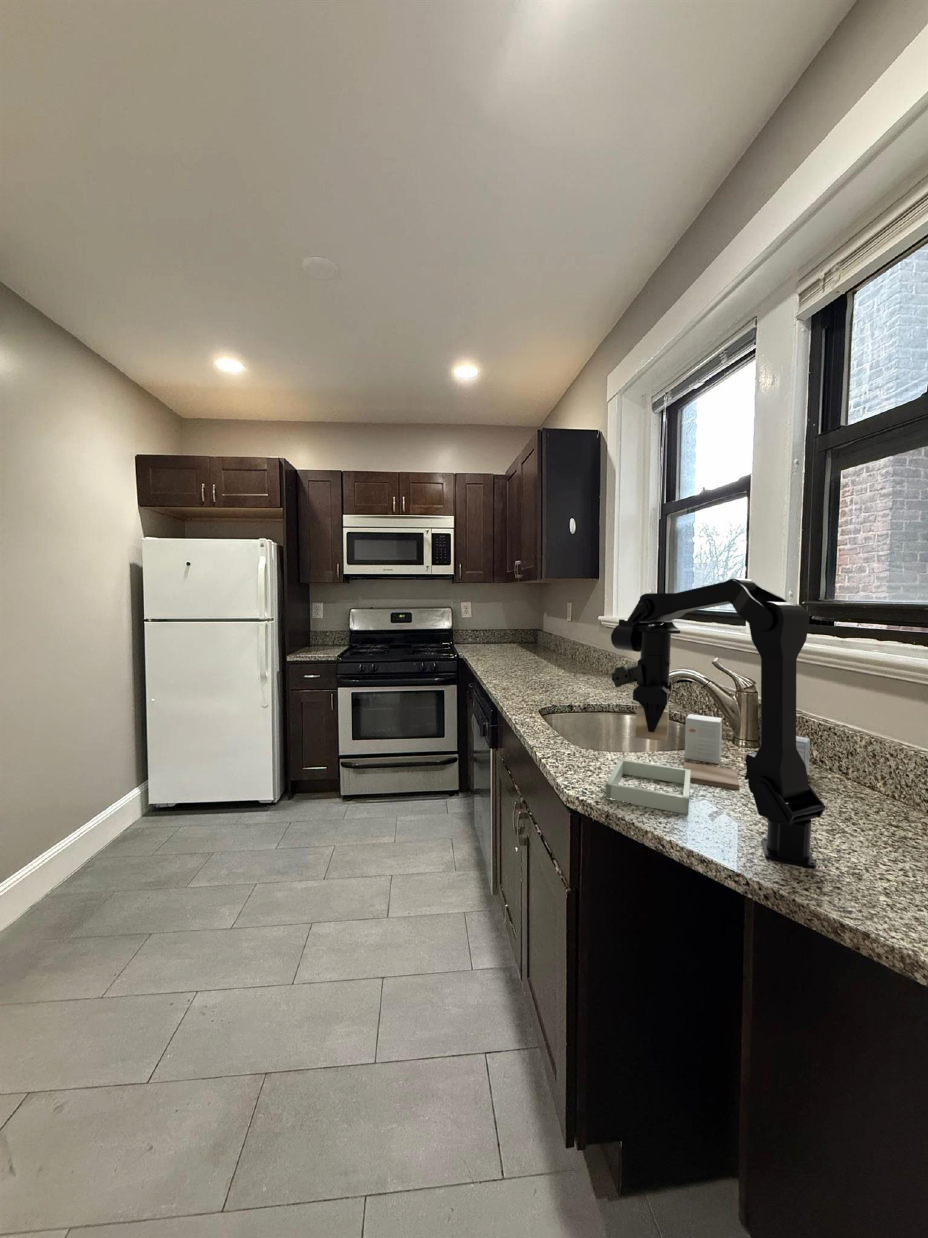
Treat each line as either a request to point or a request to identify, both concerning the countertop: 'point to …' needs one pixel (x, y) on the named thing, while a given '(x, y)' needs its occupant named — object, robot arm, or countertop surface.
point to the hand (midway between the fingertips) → (652, 729)
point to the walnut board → (713, 775)
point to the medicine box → (804, 750)
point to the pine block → (660, 730)
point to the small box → (703, 738)
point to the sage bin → (649, 796)
